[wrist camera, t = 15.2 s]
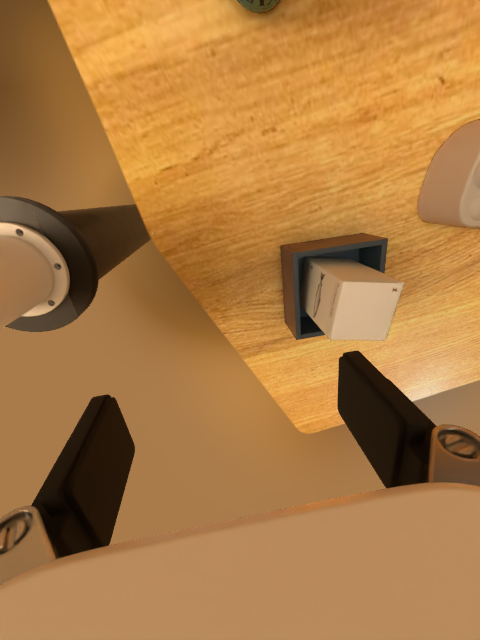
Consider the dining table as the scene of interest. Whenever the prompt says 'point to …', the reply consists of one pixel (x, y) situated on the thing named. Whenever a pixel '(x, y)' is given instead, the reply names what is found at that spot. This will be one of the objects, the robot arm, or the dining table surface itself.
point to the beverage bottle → (258, 5)
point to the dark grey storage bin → (348, 247)
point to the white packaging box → (348, 298)
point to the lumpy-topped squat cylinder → (454, 181)
